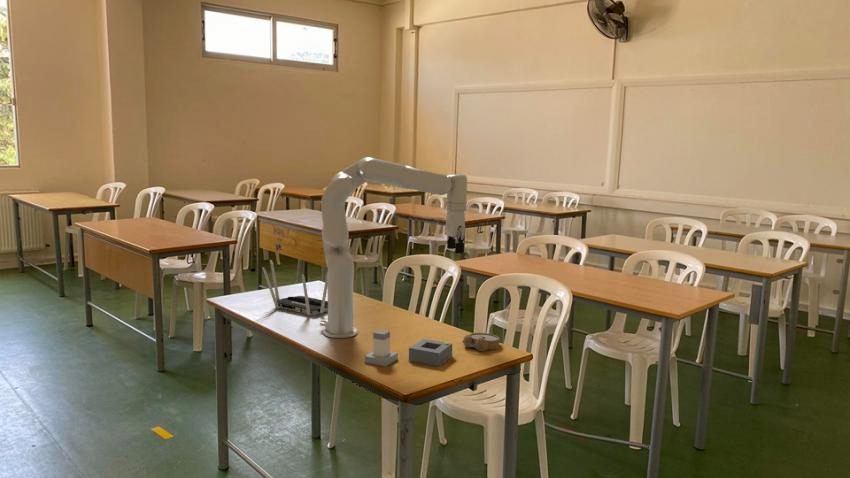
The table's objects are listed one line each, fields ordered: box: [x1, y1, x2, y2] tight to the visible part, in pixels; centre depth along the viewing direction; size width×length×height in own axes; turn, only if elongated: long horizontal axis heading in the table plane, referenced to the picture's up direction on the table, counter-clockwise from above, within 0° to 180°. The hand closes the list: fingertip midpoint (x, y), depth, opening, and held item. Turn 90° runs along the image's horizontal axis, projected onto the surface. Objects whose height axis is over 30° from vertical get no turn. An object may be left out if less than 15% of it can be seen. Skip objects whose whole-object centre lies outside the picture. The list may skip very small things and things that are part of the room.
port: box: [408, 338, 453, 367], centre depth 213 cm, size 11×11×5 cm
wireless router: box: [261, 259, 328, 316], centre depth 267 cm, size 34×23×20 cm
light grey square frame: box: [364, 351, 399, 368], centre depth 210 cm, size 8×8×2 cm
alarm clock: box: [462, 332, 502, 352], centre depth 226 cm, size 11×5×15 cm
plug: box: [372, 329, 391, 358], centre depth 209 cm, size 4×4×10 cm
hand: (455, 250), depth 243 cm, fingers open, 9 cm apart
